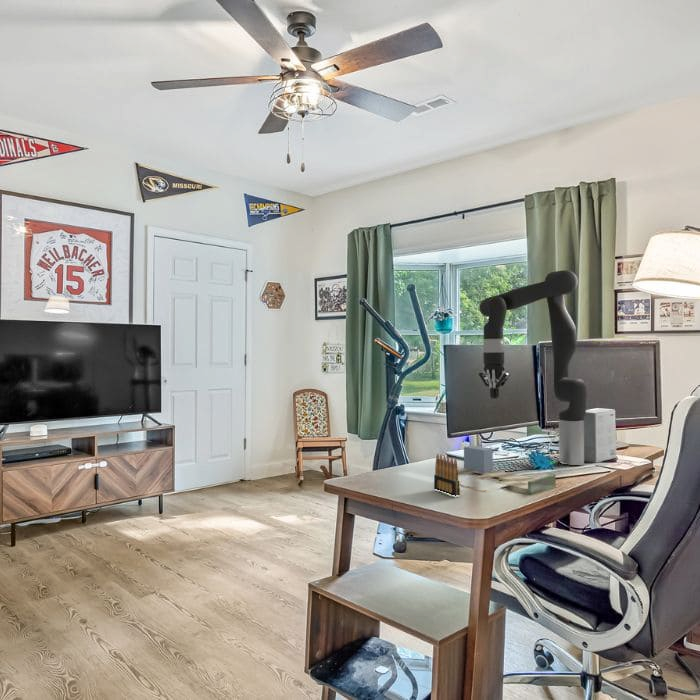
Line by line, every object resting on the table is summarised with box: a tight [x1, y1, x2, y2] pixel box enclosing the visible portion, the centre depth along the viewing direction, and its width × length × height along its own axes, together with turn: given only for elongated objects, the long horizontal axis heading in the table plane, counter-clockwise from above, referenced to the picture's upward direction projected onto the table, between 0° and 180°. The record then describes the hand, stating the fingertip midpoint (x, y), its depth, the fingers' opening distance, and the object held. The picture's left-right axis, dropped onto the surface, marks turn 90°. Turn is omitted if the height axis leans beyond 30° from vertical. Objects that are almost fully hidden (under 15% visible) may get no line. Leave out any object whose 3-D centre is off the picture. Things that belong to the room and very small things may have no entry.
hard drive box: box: [584, 407, 617, 464], centre depth 226 cm, size 16×8×20 cm, turn 126°
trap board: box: [458, 467, 557, 496], centre depth 193 cm, size 33×16×4 cm, turn 39°
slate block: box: [463, 445, 494, 473], centre depth 203 cm, size 9×5×8 cm, turn 39°
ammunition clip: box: [433, 453, 461, 496], centre depth 177 cm, size 11×2×12 cm, turn 29°
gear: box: [528, 449, 557, 472], centre depth 206 cm, size 11×6×10 cm
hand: (494, 398), depth 206 cm, fingers closed
